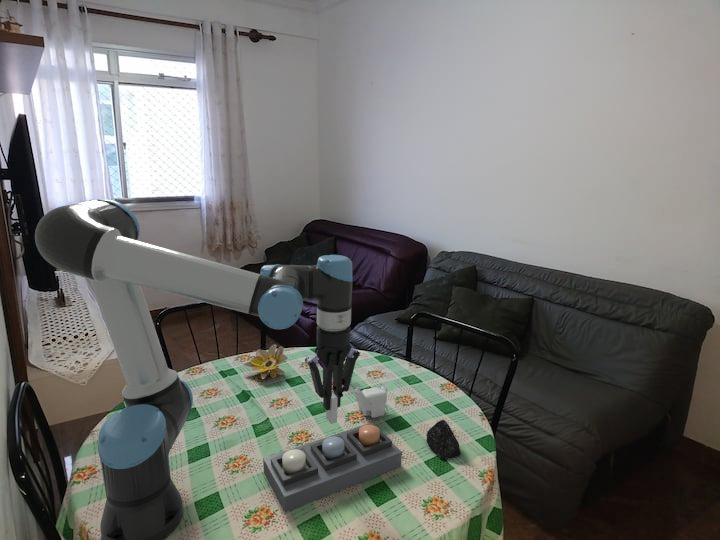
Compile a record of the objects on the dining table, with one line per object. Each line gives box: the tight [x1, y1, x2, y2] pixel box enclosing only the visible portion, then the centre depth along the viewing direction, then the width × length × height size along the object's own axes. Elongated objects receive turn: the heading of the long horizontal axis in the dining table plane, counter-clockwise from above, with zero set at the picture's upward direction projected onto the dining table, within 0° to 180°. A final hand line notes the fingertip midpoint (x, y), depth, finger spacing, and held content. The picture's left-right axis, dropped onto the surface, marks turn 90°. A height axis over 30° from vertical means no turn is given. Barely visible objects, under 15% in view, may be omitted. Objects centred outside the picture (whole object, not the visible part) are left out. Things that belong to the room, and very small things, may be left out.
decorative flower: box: [242, 344, 288, 380], centre depth 153 cm, size 15×11×10 cm
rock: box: [426, 419, 462, 462], centre depth 115 cm, size 7×10×6 cm
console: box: [262, 422, 403, 514], centre depth 106 cm, size 30×14×6 cm, turn 120°
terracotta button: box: [359, 424, 381, 446], centre depth 110 cm, size 5×5×2 cm
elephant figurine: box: [353, 381, 390, 418], centre depth 129 cm, size 10×12×9 cm
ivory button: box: [282, 448, 306, 474], centre depth 100 cm, size 5×5×2 cm
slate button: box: [322, 436, 344, 460], centre depth 105 cm, size 5×5×2 cm
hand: (331, 420), depth 103 cm, fingers closed
